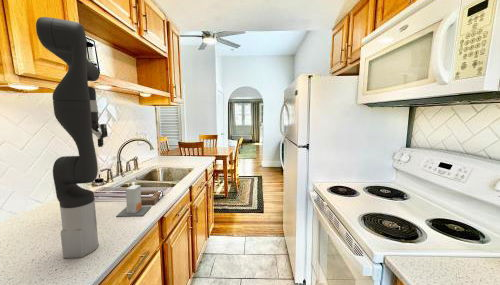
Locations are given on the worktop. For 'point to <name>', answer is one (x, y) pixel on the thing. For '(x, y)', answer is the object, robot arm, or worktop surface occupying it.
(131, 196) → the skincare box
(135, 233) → the worktop surface
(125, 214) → the mat
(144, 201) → the slot block
